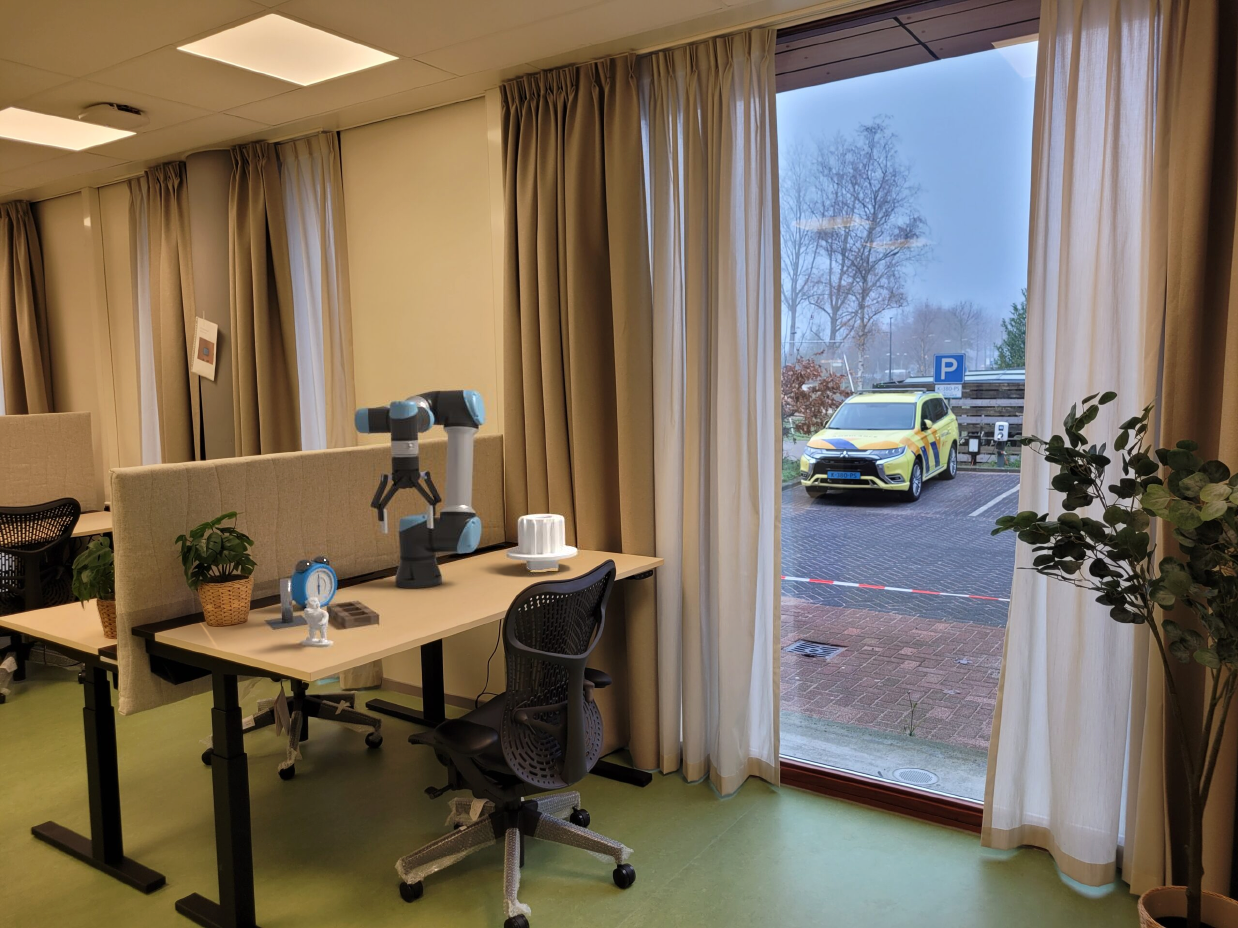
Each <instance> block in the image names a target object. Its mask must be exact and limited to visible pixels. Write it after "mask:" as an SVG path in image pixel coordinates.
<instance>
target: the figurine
mask: <svg viewBox="0 0 1238 928" xmlns="http://www.w3.org/2000/svg"><path fill="white" fill-rule="evenodd" d="M305 603H307V606H306V608H304V609H303V610H304V612H303V614H304V618H305V619H306V621H307V624H308V628H309V629H308V631H309V632H308V633H309V636H307V637H306V638H305V639H302V640H300V644H301V645H303V646H306V647H307V646H309V647H316V648H327V647H332V646H333V645H334V641H333V640H329V639H327V637H328V636H327V629H328V627H329V617H330V616H329V615H328V613H327V610H324V609H321V607H320V604H319V602H318V598H317V597H313V598H309V599H308V600H306V601H305ZM317 631H318V632H319V634H320V638H316V637H317V633H316V632H317Z"/></svg>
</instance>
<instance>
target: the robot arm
mask: <svg viewBox="0 0 1238 928" xmlns="http://www.w3.org/2000/svg"><path fill="white" fill-rule="evenodd" d="M485 409H486V408H485V403H484V400H483V398H482V396H481V394H480V392H478V391H477V390H470V389H458V390H457V389H456V390H455V389H453V390H432V391H427V392H423V393H419V394H414V395H411V396H409V397H407V398H406V399H404V400H398V401H397V400H396V401H395V400H393V401H391V402H390V404H386V405H381V406H376V407H364V408H363V407H362V408H361V407H360V408H358V409H357V410H356V411H355V414H354V427H355V430H356V431H357V432H358V433H360V434H368V435H369V434H390V454H391V455H392V457H391V474H386V473H381V474H380V482H379V484H378V487H377V488H376V492H375V494H374V496H373V498H372V501H371V503H370V507H371V508H372V509H376V510H377V520H378V522H380V523H381V524H380V525H381V526H380V527H381V533H383V534H388V531H389V530H388V510H387V509H385V508H386V506H387V505H388V504H389V503H390V501H391V500H392V499H393V497H394V496H395V494H396V493H397V492H398V491H399V490H406V489H415V490H416V491H417V492H418V493H419V495H421V497H422V498H423V499H424V500H425V501H426V502H427V503H428V504H426V512H422V513H415V514H411V515H407V516H403V517H401V518H400V519H399V522H398V530H397V532H398V547H399V564H398V567H397V571H396V575H395V579H394V580H395V581H394V582H395V586H396V587H398V588H402V589H423V588H430V587H436V586H439V585H441V584H442V583H443V575H442V573H441V570H440V567H439V564H438V562H437V554H438V553H439V554H445V553H446V554H459V555H460V554H465V553H466V554H468V553H473V552H474V551H475V550H476V549H477V547H478V546H479V543H480V540H481V535H482V521H481V519H480V518H479V517H477V516H476V515H477V514H476V510H474V509H473V507H472V502H473V501H472V499H473V498H472V497H473V468H474V466H473V465H474V440H475V435H476V434H477V433H479V431H480V430H479V428H480V427H479V426H482V425H484V424H485V420H486V410H485ZM433 426H443V428H442V429H443V431H444V432H445V433H446V434H447V444H446V449H447V451H446V472H445V473H446V474H445V496H444V497H445V499H444V507H442V509H441V510H440V511H439V517H436V514H437V511H436V506H437V505H438V504H439V503H442V498H441V496H440V493H439V491H438V490H437V488H436V486H435V484H434V482H433V480H432V477H431V476H432V475H431V471H429V470H423V471H422V472H420V457H419V455H418V454H419V434H423V433H424V434H425V433H426V432H428V431H430V430H431V429H432V428H433ZM420 479H423V481H424V483H425V485H426V487H427V489H428V490H429V493H430V494H431V495H430V494H429V493H428V492H427V490H426V489H425V488H424V487H423V486H422V484H421V483H420V482H419V480H420ZM390 481H392V482H393V483H392V484H391V485H390V487H389V489H388V491H387V492H386V494H385V490H386V489H387V486H388V483H389V482H390ZM383 495H384V496H383ZM436 553H437V554H436Z"/></svg>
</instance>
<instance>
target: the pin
mask: <svg viewBox="0 0 1238 928" xmlns="http://www.w3.org/2000/svg"><path fill="white" fill-rule="evenodd" d="M279 585H280V586H279V587H280V588H279V591H280V592H279V593H280V611H281V612H280V613H281V618H282V623H292V622H293V616H294V608H293V598H292V582H291V578H280V579H279Z"/></svg>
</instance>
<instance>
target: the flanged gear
mask: <svg viewBox="0 0 1238 928" xmlns="http://www.w3.org/2000/svg"><path fill="white" fill-rule="evenodd" d="M565 525H566V524H565V517H564V516H563V515H560V514H554V513H553V514H552V513H536V514H535V513H534V514H527V515H521V516H520V517H519V518H518V519H517V543H518V545H517V547H513V548H509V549H507V550H506V554H505V555H506V557H507V558H508V559H511V560H517V561H526V562H525V563H526V568H527V567H528V568H529V570H530V571H532V570H543V569H550V568H558V569H559V560H565V559H568V558H569V559H570V558H572V557H575V556H577V555H578V548H577V547H575V546H570V545H566V530H565V528H566V527H565ZM529 570H528V571H529Z"/></svg>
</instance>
